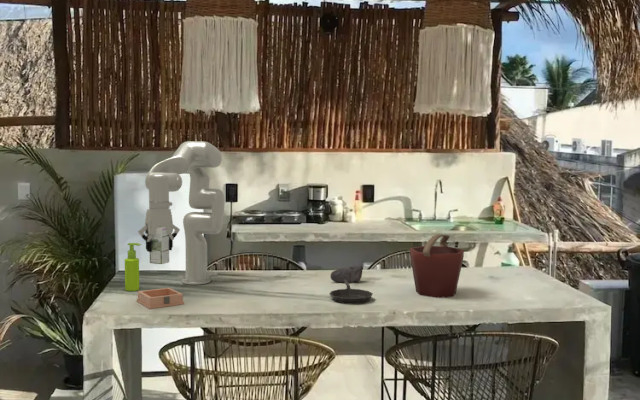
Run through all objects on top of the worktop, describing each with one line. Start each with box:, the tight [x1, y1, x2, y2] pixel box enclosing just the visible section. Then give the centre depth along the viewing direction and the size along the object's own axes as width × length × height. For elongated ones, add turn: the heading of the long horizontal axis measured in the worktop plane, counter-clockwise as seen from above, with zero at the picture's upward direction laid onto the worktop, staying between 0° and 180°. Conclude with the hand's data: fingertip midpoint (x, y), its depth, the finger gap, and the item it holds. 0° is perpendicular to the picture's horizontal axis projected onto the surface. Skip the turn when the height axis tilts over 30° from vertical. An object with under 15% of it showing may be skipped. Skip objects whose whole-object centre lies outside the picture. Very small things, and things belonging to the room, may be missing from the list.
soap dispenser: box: [124, 242, 142, 292], centre depth 293 cm, size 6×7×20 cm
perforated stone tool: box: [330, 266, 363, 284], centre depth 313 cm, size 15×5×7 cm, turn 95°
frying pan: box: [329, 279, 374, 305], centre depth 287 cm, size 18×32×4 cm, turn 4°
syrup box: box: [149, 227, 170, 265], centre depth 269 cm, size 6×6×14 cm
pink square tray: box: [136, 287, 185, 309], centre depth 271 cm, size 14×14×4 cm
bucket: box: [409, 233, 465, 298], centre depth 292 cm, size 24×22×25 cm
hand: (159, 250), depth 269 cm, fingers closed on syrup box, 7 cm apart
